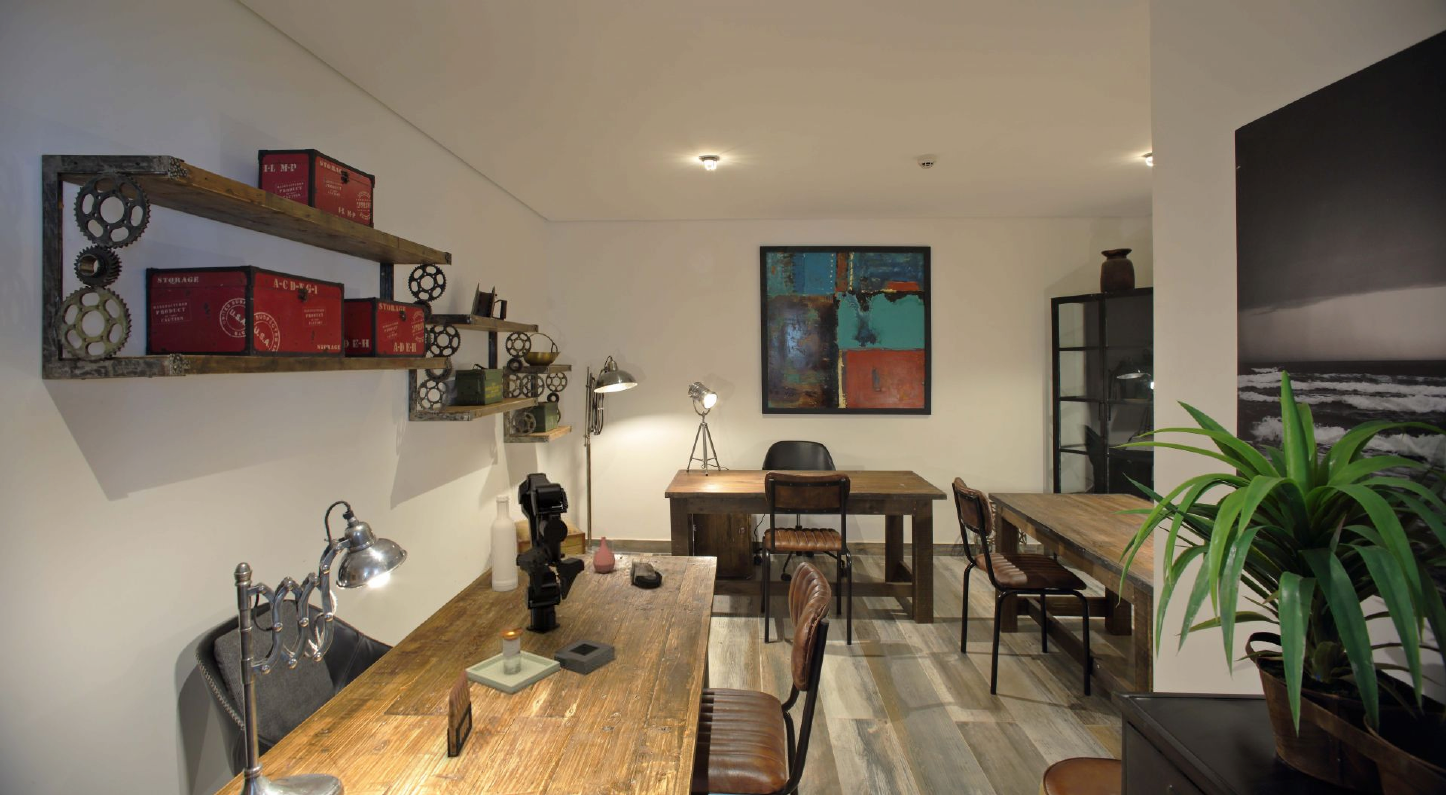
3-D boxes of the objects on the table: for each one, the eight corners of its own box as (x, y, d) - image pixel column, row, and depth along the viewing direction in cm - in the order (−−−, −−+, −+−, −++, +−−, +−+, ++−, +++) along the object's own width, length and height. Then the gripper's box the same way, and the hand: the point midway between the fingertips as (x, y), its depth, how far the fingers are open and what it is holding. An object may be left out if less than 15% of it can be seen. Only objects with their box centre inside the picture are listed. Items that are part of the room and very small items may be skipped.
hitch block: (554, 665, 158) (553, 652, 158) (584, 650, 167) (583, 638, 167) (585, 675, 153) (584, 662, 153) (614, 658, 161) (614, 646, 161)
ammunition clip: (462, 726, 132) (460, 666, 131) (472, 725, 132) (470, 665, 131) (447, 757, 121) (445, 692, 121) (458, 756, 121) (455, 691, 121)
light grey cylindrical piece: (496, 673, 153) (494, 632, 153) (513, 664, 158) (512, 624, 157) (511, 678, 151) (509, 636, 150) (528, 669, 155) (527, 628, 155)
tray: (464, 677, 153) (463, 670, 153) (513, 655, 164) (513, 647, 164) (511, 695, 144) (511, 687, 144) (559, 669, 156) (559, 662, 156)
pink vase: (610, 575, 227) (609, 540, 226) (589, 574, 228) (588, 539, 228) (618, 569, 234) (618, 535, 234) (598, 568, 236) (597, 534, 235)
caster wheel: (661, 596, 213) (629, 594, 211) (658, 578, 224) (628, 576, 222) (664, 577, 212) (632, 574, 210) (661, 559, 222) (631, 557, 220)
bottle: (487, 591, 213) (483, 497, 212) (502, 583, 221) (499, 492, 219) (508, 593, 211) (505, 498, 210) (523, 585, 218) (520, 493, 217)
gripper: (497, 537, 165) (499, 599, 166) (551, 546, 155) (553, 613, 156) (532, 527, 175) (534, 587, 175) (585, 536, 165) (587, 599, 165)
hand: (550, 596), depth 168 cm, fingers open, 9 cm apart
